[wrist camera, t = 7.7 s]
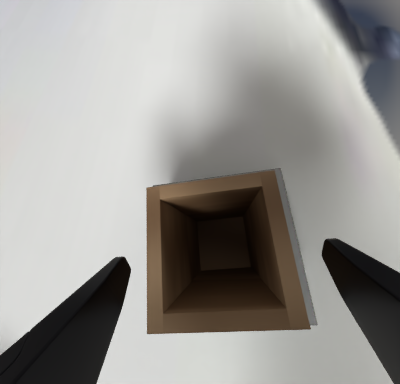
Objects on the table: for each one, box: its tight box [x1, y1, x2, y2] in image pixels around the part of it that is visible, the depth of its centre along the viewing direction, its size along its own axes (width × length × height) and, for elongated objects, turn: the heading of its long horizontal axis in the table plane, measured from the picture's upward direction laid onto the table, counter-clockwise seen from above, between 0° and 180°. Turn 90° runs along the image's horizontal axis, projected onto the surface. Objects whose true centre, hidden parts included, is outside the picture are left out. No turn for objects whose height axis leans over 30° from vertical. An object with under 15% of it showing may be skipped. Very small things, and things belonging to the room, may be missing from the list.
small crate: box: [147, 170, 311, 334], centre depth 11 cm, size 6×6×10 cm
